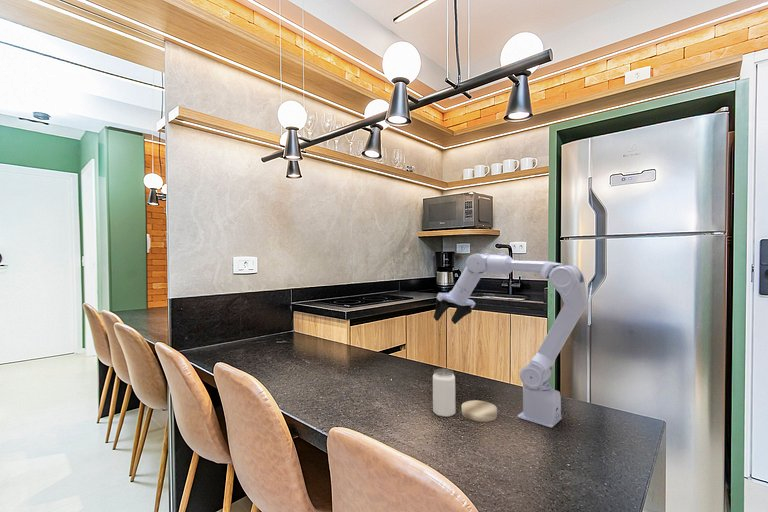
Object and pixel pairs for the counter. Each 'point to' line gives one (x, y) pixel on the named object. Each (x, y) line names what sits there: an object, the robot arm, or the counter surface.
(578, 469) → the counter surface
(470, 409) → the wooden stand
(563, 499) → the counter surface
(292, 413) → the counter surface
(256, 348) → the counter surface
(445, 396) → the can
